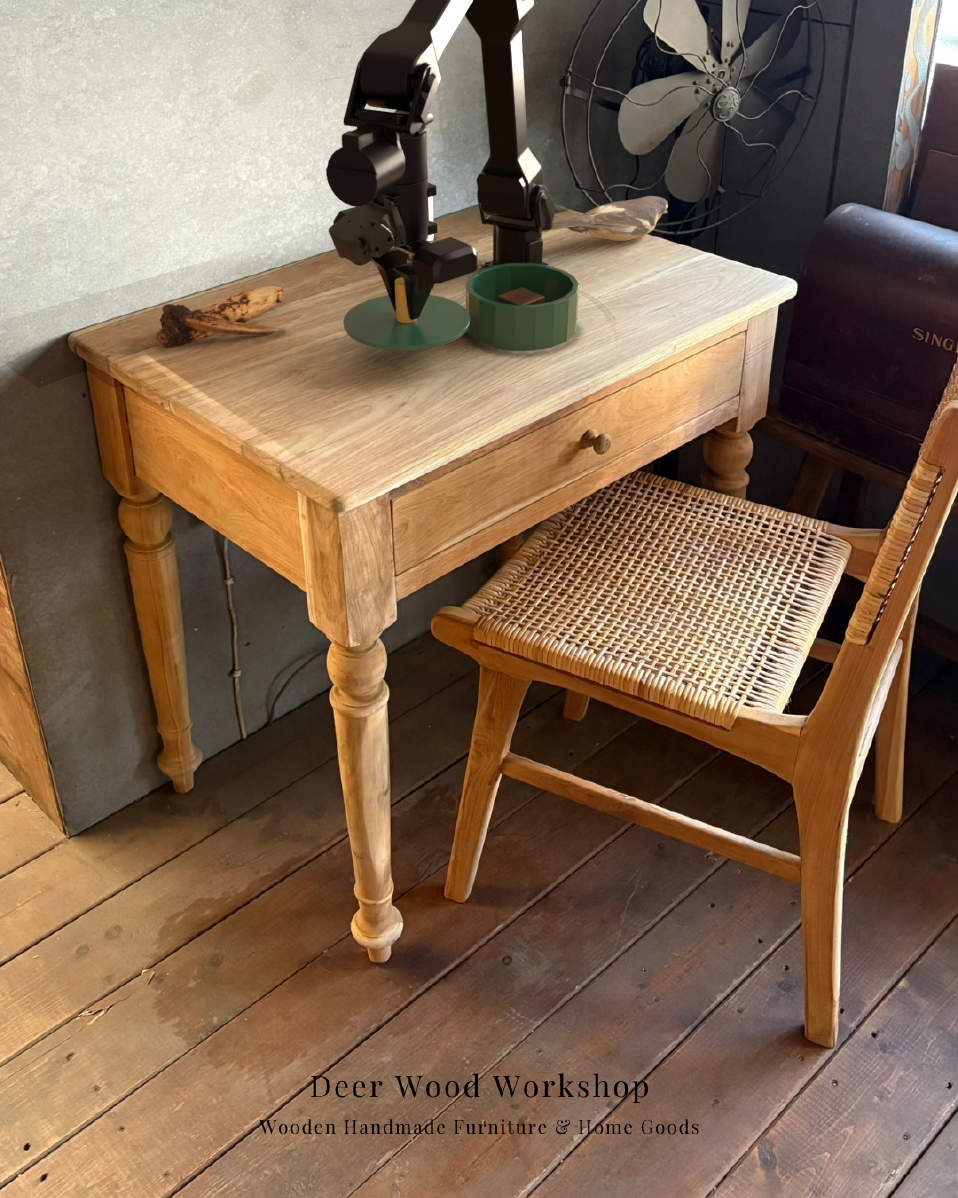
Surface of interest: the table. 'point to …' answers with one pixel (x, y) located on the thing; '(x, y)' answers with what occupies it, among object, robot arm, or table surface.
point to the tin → (522, 307)
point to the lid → (406, 322)
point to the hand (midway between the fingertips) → (406, 314)
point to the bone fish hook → (218, 317)
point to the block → (521, 297)
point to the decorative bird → (618, 219)
